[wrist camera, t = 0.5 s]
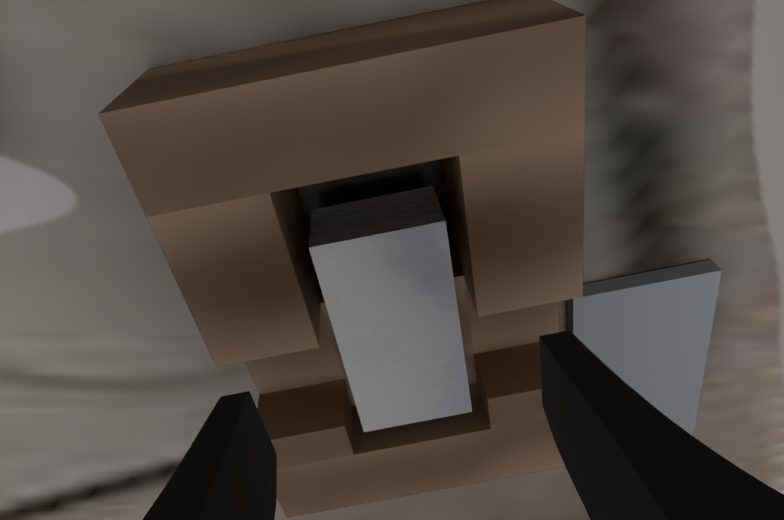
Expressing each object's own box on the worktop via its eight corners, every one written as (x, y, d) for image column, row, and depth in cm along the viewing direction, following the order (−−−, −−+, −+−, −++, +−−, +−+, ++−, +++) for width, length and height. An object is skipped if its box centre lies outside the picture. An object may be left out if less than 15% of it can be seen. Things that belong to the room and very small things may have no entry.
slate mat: (684, 423, 29) (693, 435, 28) (567, 444, 29) (573, 457, 28) (710, 259, 23) (721, 270, 23) (566, 287, 23) (573, 298, 23)
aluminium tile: (459, 366, 22) (472, 411, 20) (361, 384, 23) (363, 432, 21) (433, 185, 18) (445, 221, 16) (311, 209, 18) (308, 247, 16)
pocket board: (545, 384, 26) (580, 463, 23) (293, 432, 27) (286, 517, 23) (531, -9, 17) (585, 15, 14) (148, 69, 17) (98, 113, 14)
